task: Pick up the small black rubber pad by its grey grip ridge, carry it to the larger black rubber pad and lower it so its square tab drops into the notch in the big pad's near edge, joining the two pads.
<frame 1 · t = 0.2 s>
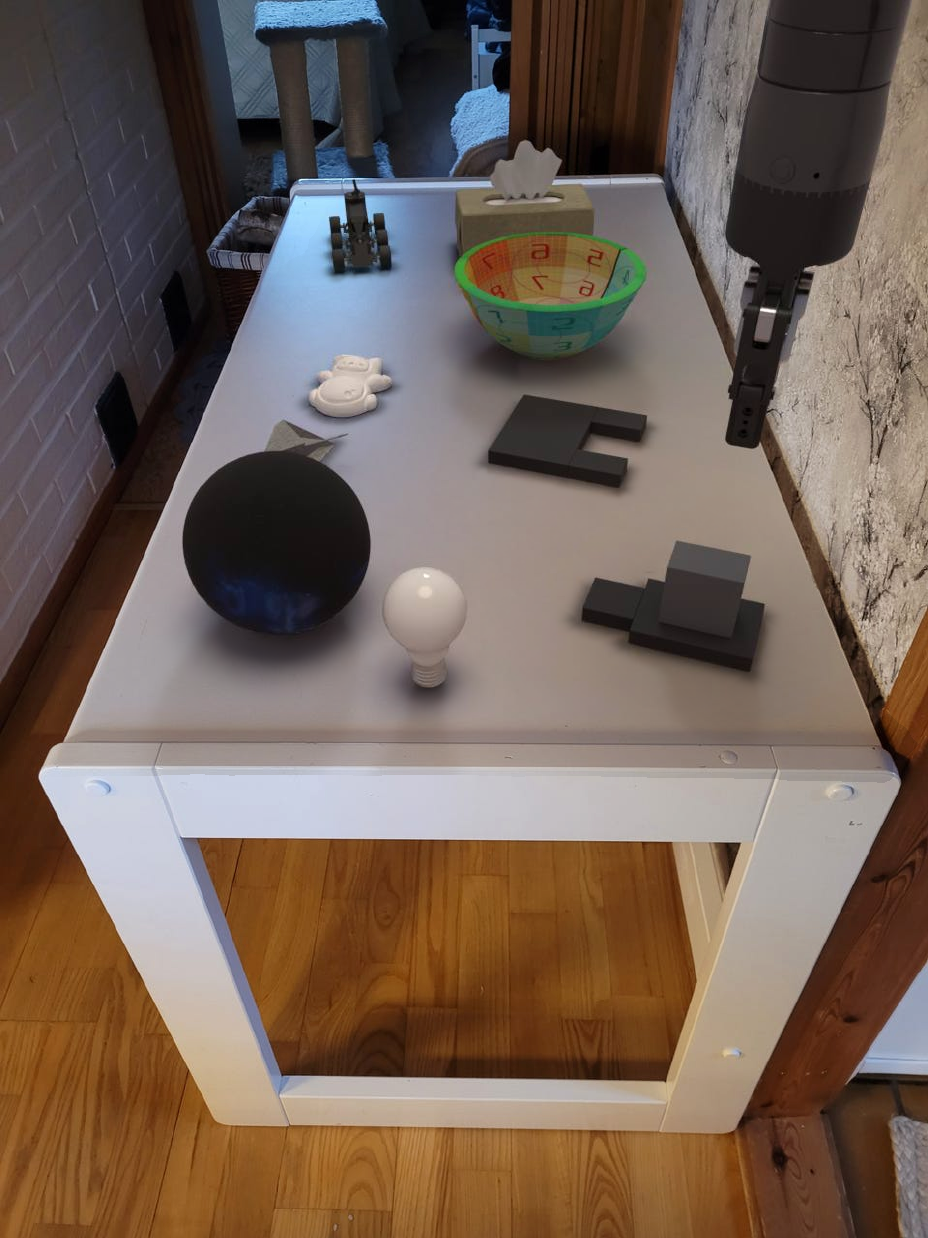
hand: (751, 412, 65), 21 cm above the table, tool pointing down, fingers open, 8 cm apart
bowl: (546, 347, 118), on the table
decorative sphere: (291, 612, 83), on the table
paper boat: (307, 475, 99), on the table
notch pad: (568, 444, 102), on the table
toy vehicle: (360, 254, 140), on the table
white bear figurine: (352, 391, 111), on the table
lightbulb: (429, 682, 77), on the table
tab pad: (695, 629, 80), on the table
tissue box: (522, 256, 138), on the table
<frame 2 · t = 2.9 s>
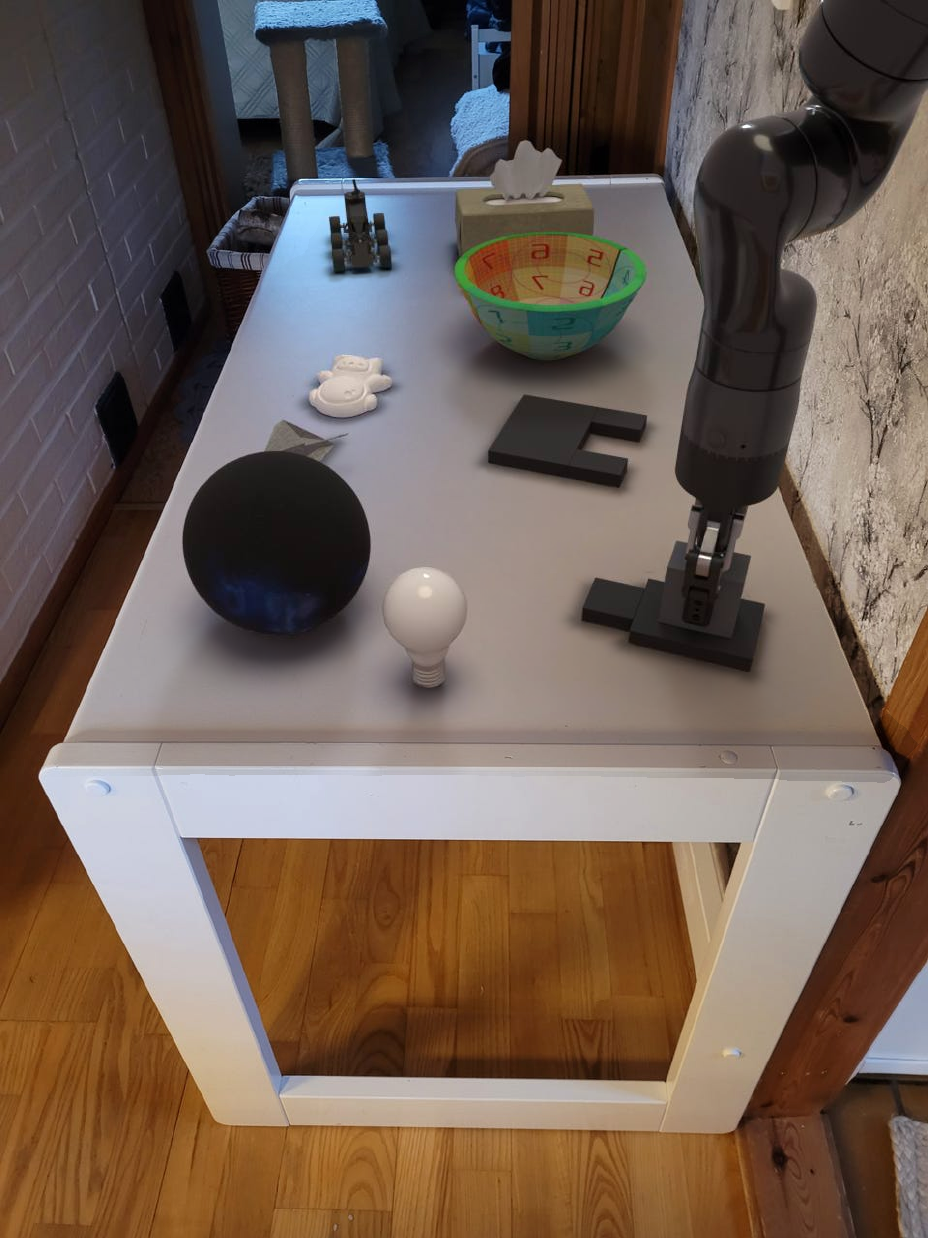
hand: (700, 604, 78), 3 cm above the table, tool pointing down, fingers closed on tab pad, 3 cm apart
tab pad: (695, 629, 80), on the table, touching gripper
everything else where it was.
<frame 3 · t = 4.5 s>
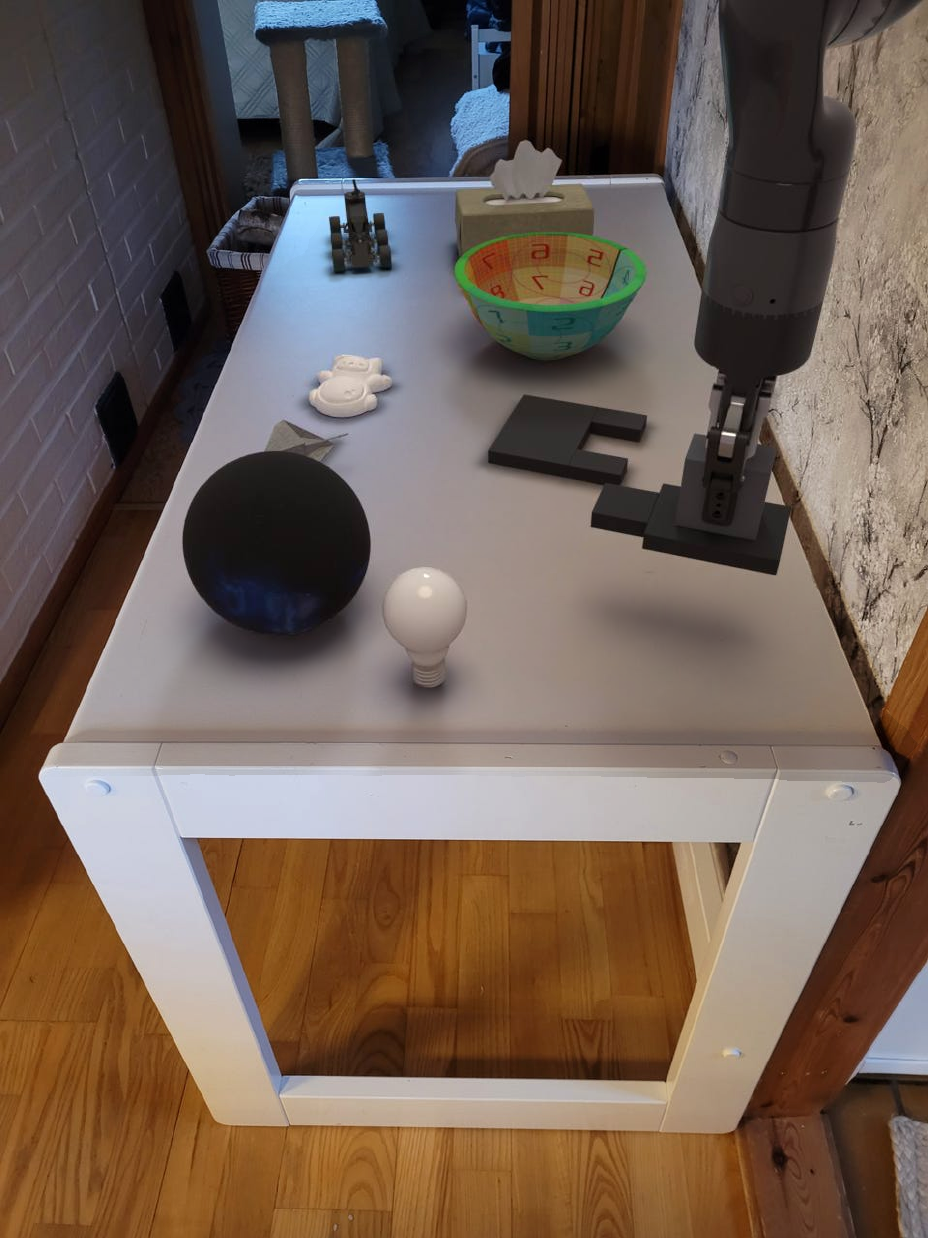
hand: (721, 505, 72), 13 cm above the table, tool pointing down, fingers closed on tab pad, 3 cm apart
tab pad: (715, 535, 74), point 10 cm above the table, touching gripper
everything else where it was.
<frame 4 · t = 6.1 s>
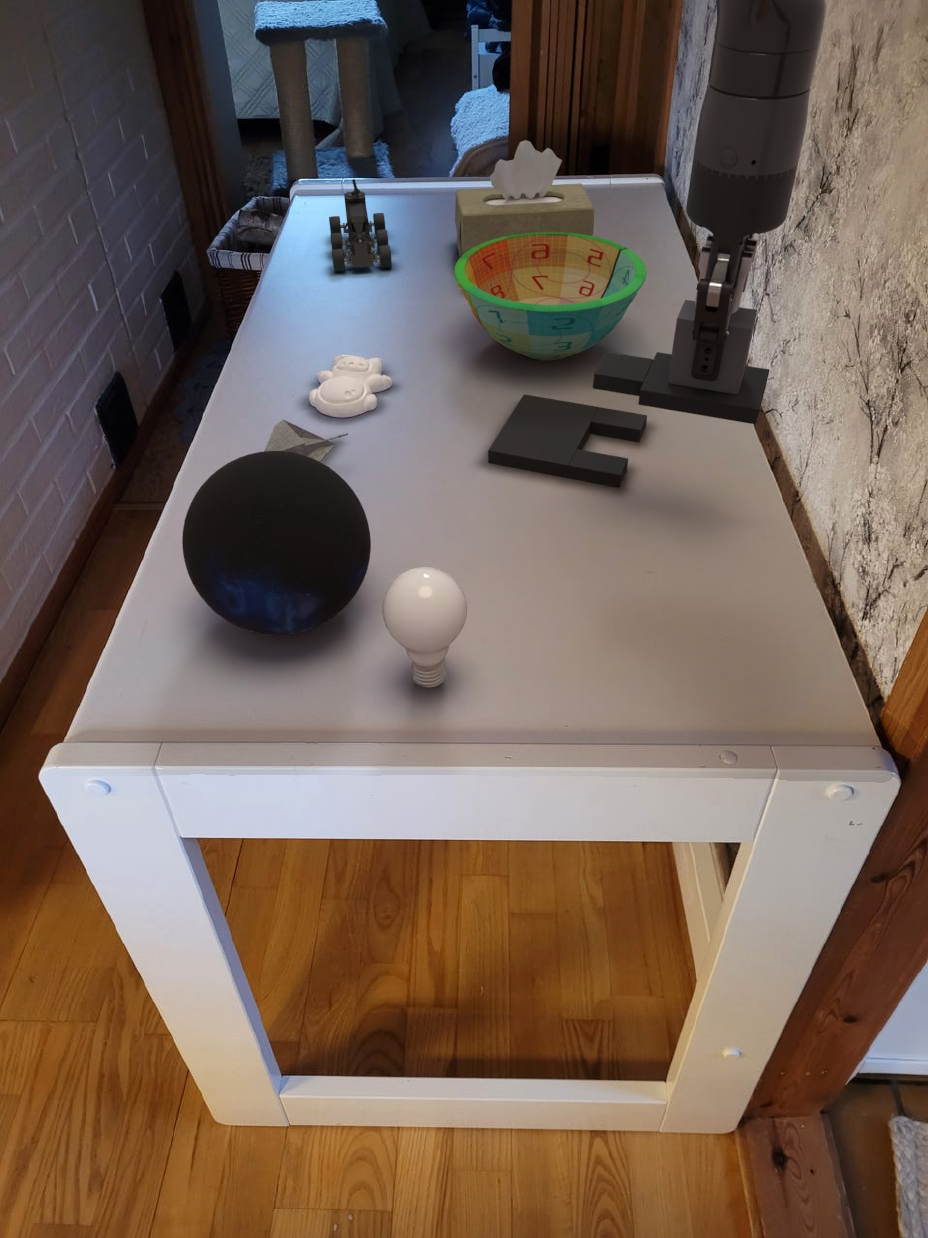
hand: (708, 365, 81), 16 cm above the table, tool pointing down, fingers closed on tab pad, 3 cm apart
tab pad: (703, 394, 83), point 13 cm above the table, touching gripper
everything else where it was.
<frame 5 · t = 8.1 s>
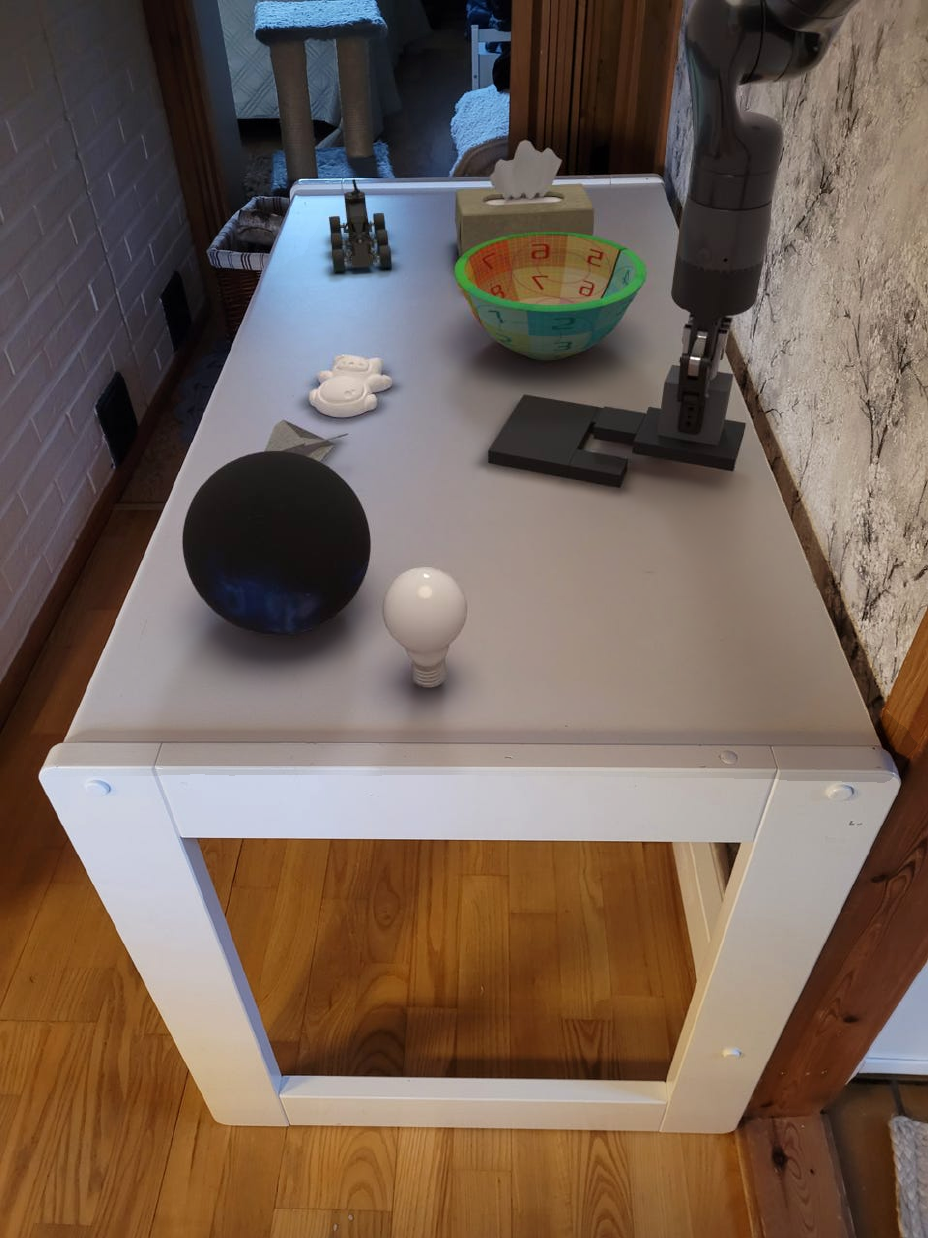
hand: (692, 420, 94), 5 cm above the table, tool pointing down, fingers closed on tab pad, 3 cm apart
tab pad: (688, 444, 96), point 3 cm above the table, touching gripper
everything else where it was.
when the fingers open (3 cm above the table, at t = 9.3 s): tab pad stays where it is, on the table.
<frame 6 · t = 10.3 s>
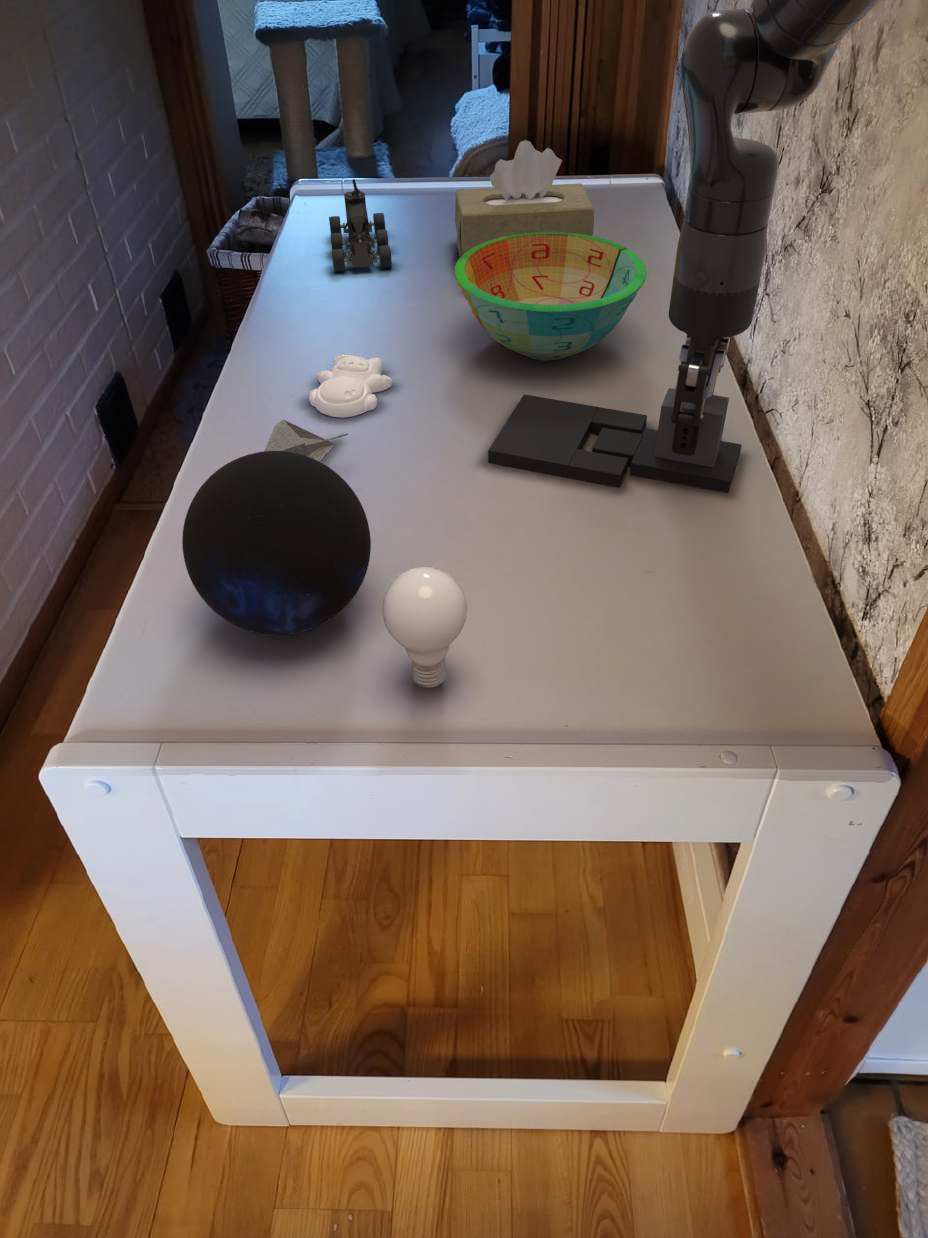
hand: (691, 430, 95), 4 cm above the table, tool pointing down, fingers open, 8 cm apart
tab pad: (685, 465, 98), on the table
everything else where it was.
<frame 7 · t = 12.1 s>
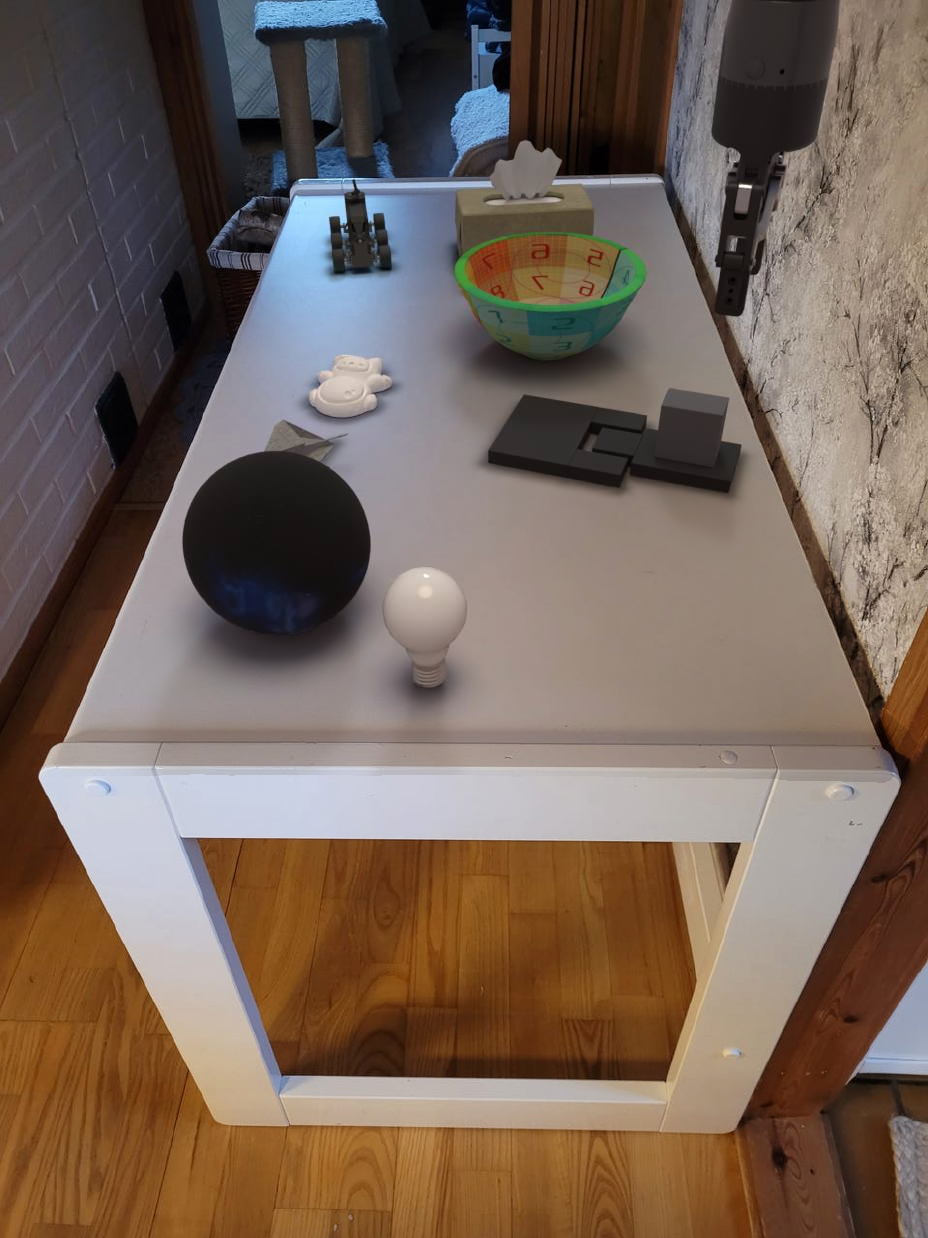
hand: (737, 292, 78), 22 cm above the table, tool pointing down, fingers open, 8 cm apart
nothing on the table moved.
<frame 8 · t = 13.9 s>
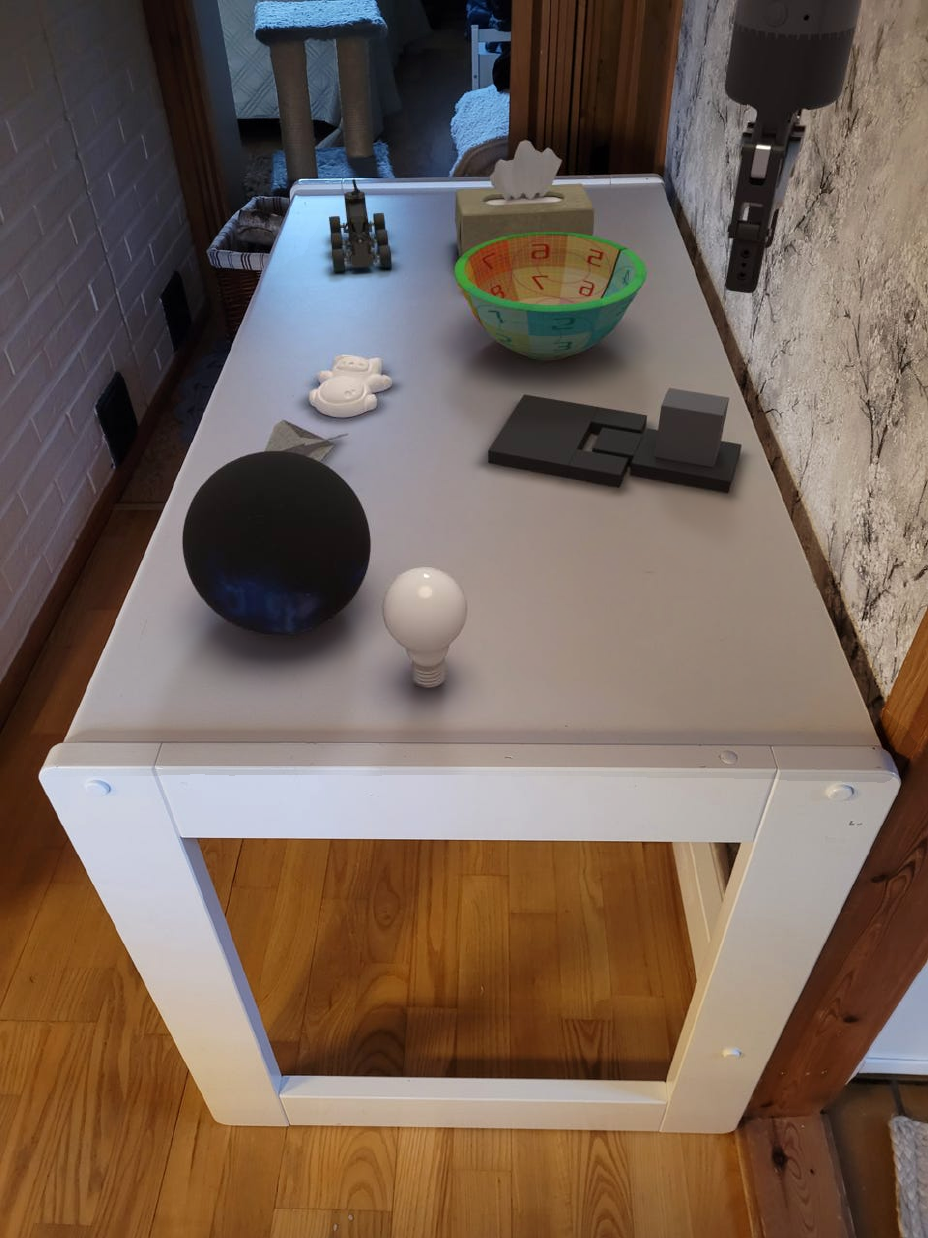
hand: (749, 266, 71), 26 cm above the table, tool pointing down, fingers open, 8 cm apart
nothing on the table moved.
at the end: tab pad 0.3 cm from the target spot on the table beside the notch pad, on the table; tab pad tilted 0°; the gripper is holding nothing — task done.
